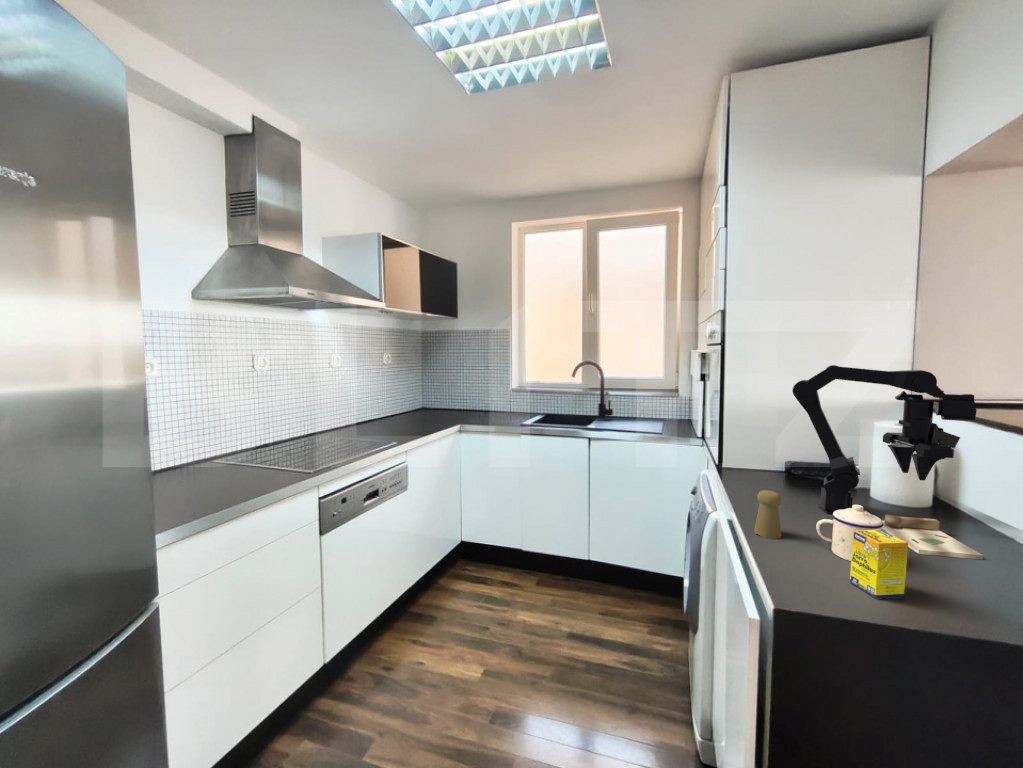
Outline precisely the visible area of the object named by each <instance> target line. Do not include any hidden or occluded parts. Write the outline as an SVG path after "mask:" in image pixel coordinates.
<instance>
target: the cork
mask: <svg viewBox="0 0 1023 768" xmlns="http://www.w3.org/2000/svg"><path fill="white" fill-rule="evenodd" d="M756 499H757V502H758V503H759V505H758V510H757V515H756V520H755V524H754V530H753V533H754V532H755V533H756V534H758V535H760V536H762V537H761V538H763V537H766V538H765V539H767V538H771V539H770V540H778V539H777V538H780V537H781V536H782V528H781V520H780V510H779V507H780V506H781V503H782V496H781V494H780V493H778V492H776V491H774V490H768V489H766V490H765V489H764V490H763V489H762V490H759V492H758V494H757V497H756ZM755 533H754V534H755ZM756 534H755V535H756ZM758 535H757V536H758ZM760 536H759V537H760ZM781 538H782V537H781ZM781 538H780V539H781Z"/></svg>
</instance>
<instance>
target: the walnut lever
mask: <svg viewBox="0 0 1023 768" xmlns="http://www.w3.org/2000/svg"><path fill="white" fill-rule="evenodd" d="M884 521H885V525H888V526H891V527H911V528H924V529H936V530H940V521H939V520H937V519H936V518H926V517H925V518H923V517H913V516H912V517H908V516H897V515H894V514H885V515H884Z"/></svg>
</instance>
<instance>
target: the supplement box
mask: <svg viewBox="0 0 1023 768" xmlns="http://www.w3.org/2000/svg"><path fill="white" fill-rule="evenodd" d="M908 550H909V547H908V543H907V542H905V541H902V540H900V539H898V538H896V537H894V536H892V535H890V534H889V533H888V532H886V531H884V530H882V531H881V530H858V531H853V543H852V557H851V561H850V574H849V583H850V584H852V585H854V586H855V587H857V588H858V589H860V590H862V591H863V592H865V594H866V593H867V594H868V595H870V596H871V597H872V598H874V599H876V600H882V598H886V599H899V598H900V599H901V598H902V597H903V598H904V597H905V587H906V576H907V563H908V562H907V561H908Z"/></svg>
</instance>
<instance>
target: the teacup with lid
mask: <svg viewBox="0 0 1023 768" xmlns="http://www.w3.org/2000/svg"><path fill="white" fill-rule="evenodd" d="M831 516H832V518H833V519H828V518H823V519H820V520H818V521H817V522H816V524H815V525H816V526H815V527H816V532H817V534H818V536H819V537H820V538H821V539H822V540H824V541H827V542H831V552H832V553H833V554H834V555H835V556H837V557H839V558H840V559H843V560H846V561H848V562H851V557H852V543H853V531H858V530H881V531H883V529H882V527H883V522H882V521H883V520H882V519H881V518H880V517H878V516H876V515H875V514H872V513H870V512H869V511H867V510H864V506H863V505H859V504H852V508H848V509H843V510H836V511H834V512H833V514H831ZM822 524H831V525H832V532H831V533H832V535H831V537H828V536H826V535H825V534H823V533H822V531H821V529H820V528H821V525H822Z"/></svg>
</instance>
